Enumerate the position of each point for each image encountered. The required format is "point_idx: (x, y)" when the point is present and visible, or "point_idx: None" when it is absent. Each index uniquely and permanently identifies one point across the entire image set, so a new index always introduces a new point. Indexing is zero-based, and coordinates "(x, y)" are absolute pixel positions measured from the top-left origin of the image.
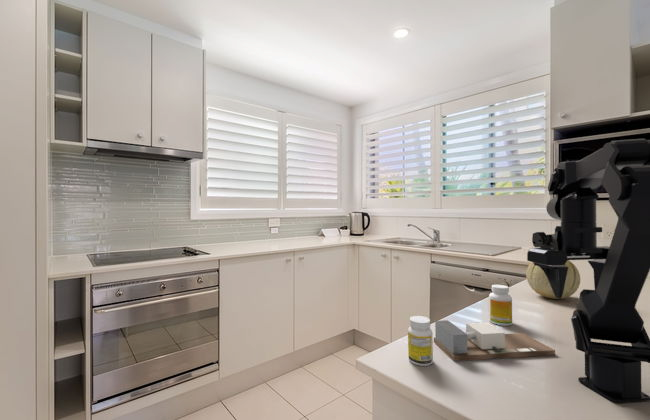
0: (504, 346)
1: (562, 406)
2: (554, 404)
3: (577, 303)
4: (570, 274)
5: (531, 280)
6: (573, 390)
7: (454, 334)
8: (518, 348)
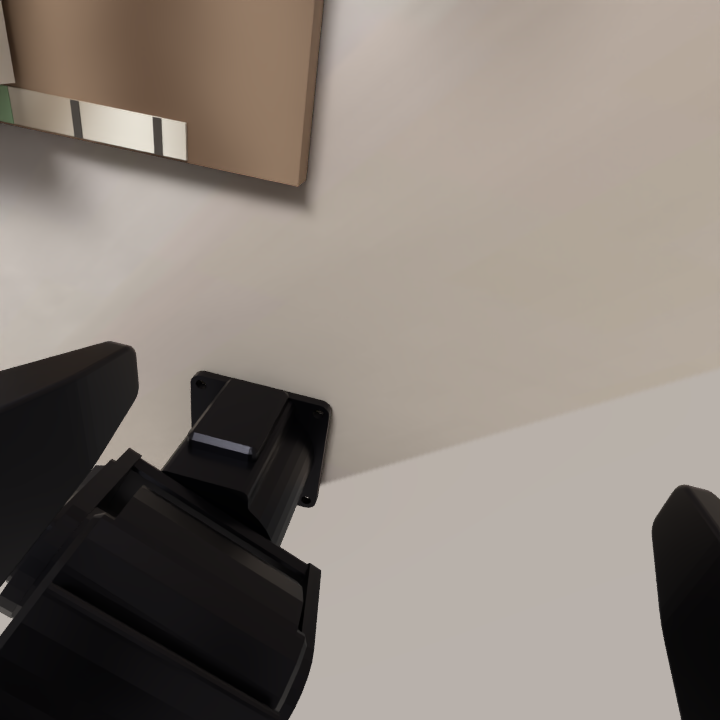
0: (5, 83)
1: None
2: None
3: (33, 606)
4: None
5: None
6: (139, 392)
7: None
8: (107, 94)
